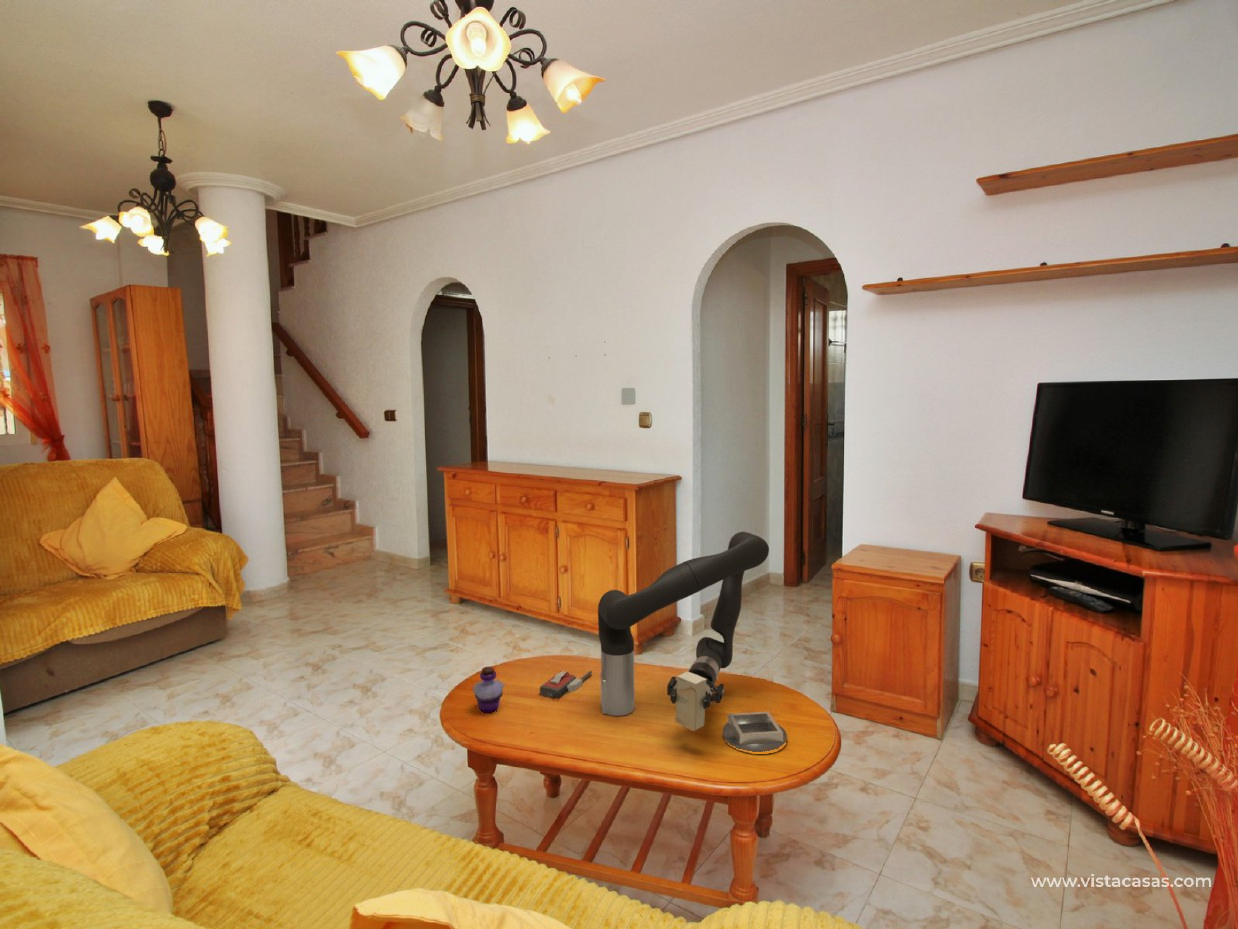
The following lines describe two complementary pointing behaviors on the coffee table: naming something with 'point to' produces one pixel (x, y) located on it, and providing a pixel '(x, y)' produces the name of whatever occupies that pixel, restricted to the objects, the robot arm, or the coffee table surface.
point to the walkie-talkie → (561, 684)
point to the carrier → (754, 732)
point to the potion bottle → (488, 691)
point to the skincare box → (690, 700)
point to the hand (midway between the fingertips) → (688, 702)
